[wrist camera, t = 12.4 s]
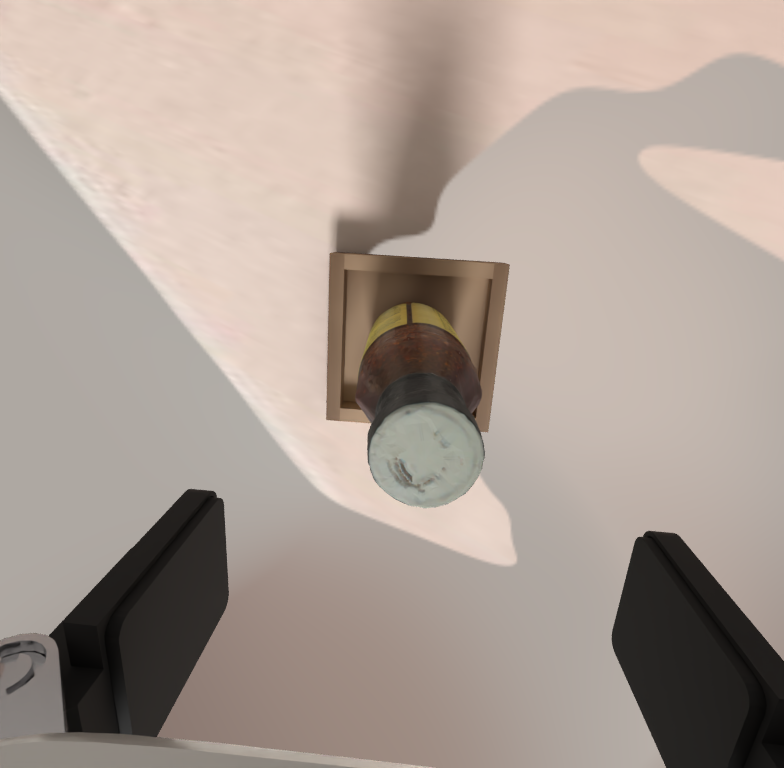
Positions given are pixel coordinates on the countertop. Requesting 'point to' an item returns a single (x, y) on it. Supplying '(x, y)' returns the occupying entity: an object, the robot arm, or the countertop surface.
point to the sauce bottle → (420, 407)
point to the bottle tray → (415, 285)
